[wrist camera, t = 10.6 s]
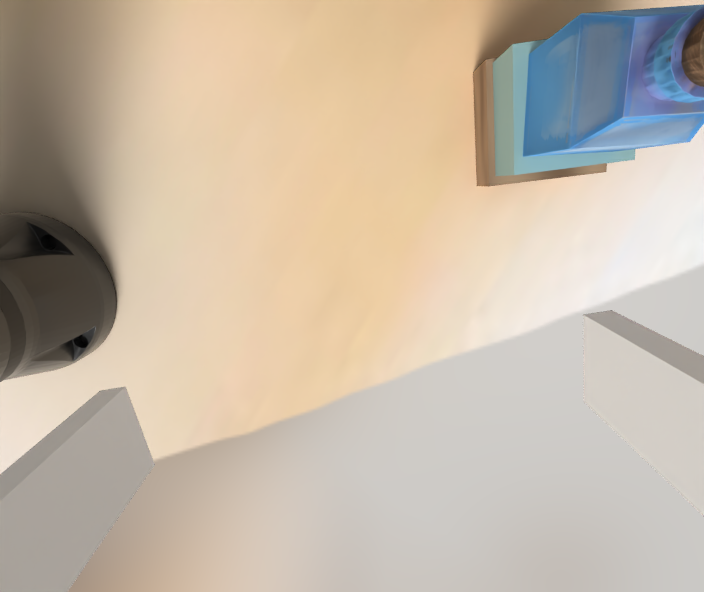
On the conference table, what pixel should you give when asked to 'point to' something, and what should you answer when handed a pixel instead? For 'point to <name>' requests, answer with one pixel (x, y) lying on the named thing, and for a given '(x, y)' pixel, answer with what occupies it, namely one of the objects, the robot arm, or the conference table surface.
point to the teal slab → (511, 121)
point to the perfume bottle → (617, 82)
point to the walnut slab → (487, 137)
